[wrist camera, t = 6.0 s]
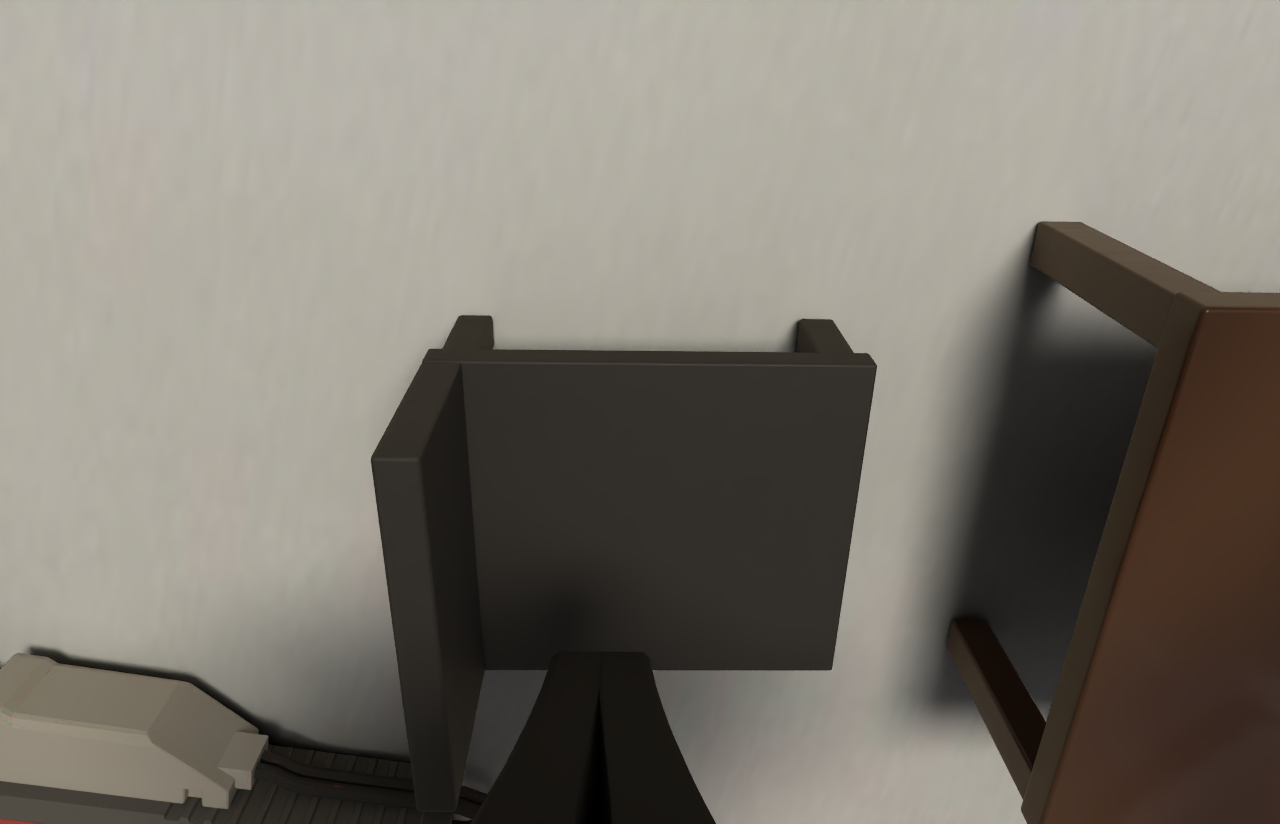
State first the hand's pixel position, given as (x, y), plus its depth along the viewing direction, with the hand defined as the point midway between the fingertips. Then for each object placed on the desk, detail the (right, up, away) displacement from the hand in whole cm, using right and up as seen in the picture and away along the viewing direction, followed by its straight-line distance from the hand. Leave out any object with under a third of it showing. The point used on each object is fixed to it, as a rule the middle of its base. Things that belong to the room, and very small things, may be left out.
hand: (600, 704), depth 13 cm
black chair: (+1, +3, +7) cm, 8 cm away
